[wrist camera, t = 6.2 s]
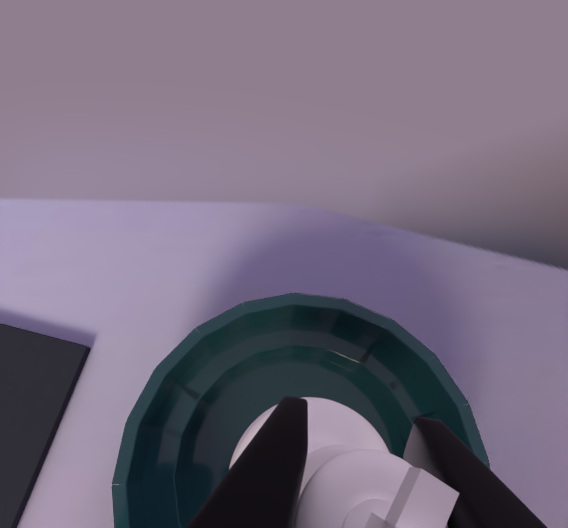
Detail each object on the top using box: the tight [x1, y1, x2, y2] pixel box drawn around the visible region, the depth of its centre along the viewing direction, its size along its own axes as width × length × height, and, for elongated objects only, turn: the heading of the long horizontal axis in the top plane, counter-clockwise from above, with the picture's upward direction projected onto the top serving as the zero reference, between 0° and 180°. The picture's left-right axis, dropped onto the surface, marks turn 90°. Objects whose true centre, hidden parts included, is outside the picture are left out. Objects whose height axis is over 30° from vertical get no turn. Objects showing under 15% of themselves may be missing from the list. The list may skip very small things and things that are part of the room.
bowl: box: [112, 293, 490, 528], centre depth 17 cm, size 13×13×4 cm
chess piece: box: [229, 397, 459, 528], centre depth 8 cm, size 5×5×10 cm
